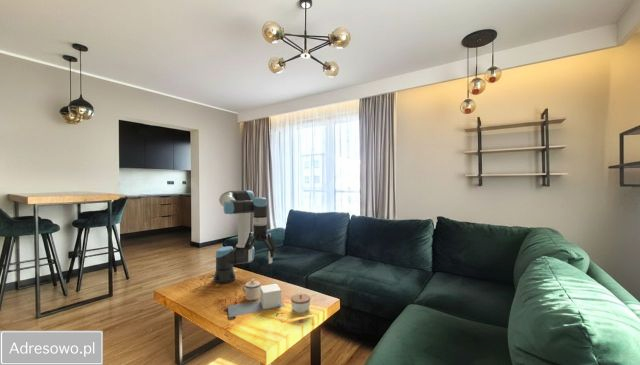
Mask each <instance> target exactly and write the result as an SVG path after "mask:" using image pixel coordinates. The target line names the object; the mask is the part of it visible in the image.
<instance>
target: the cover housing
mask: <svg viewBox="0 0 640 365" xmlns="http://www.w3.org/2000/svg"><path fill="white" fill-rule="evenodd" d="M259 300H260V302H261V305H262V307H263V309H267V308H272V307H277V306H281V300H282V289H281V288H280V286H279V285H278V284H277V283H273V284H272V283H271V284H266V285H260V297H259Z"/></svg>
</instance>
